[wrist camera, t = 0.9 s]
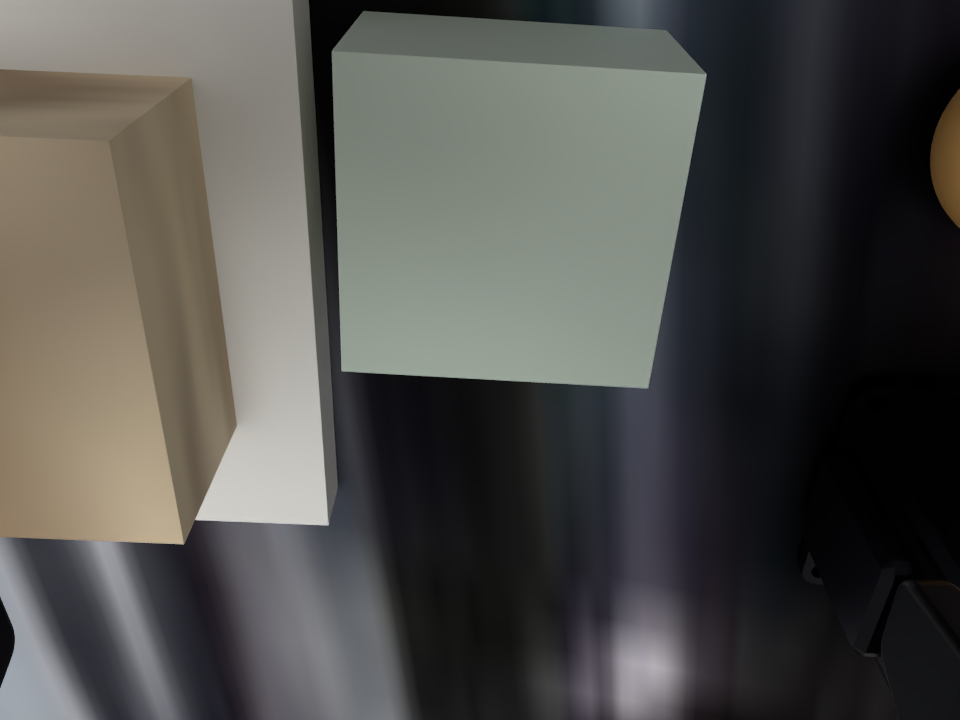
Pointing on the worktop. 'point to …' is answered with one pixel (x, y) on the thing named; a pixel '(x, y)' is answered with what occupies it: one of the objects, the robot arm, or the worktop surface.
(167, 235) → the wood brick
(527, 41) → the sage brick
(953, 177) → the figurine
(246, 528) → the worktop surface
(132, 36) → the baseplate
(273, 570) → the worktop surface
